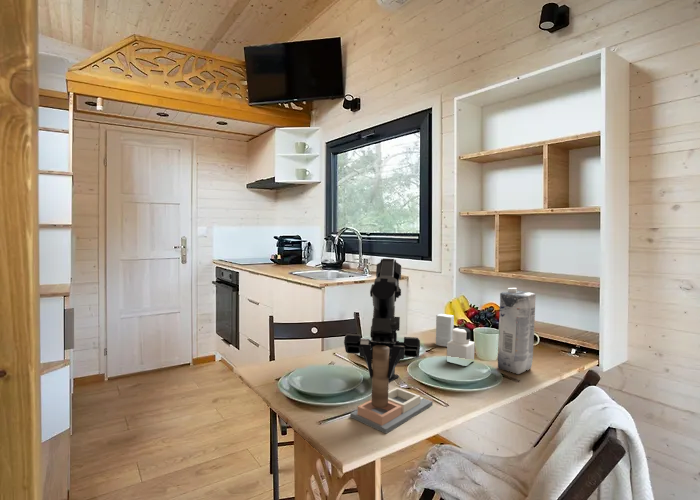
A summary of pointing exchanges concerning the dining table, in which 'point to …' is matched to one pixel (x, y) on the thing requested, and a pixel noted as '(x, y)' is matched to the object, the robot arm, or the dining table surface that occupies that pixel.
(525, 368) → the juice carton
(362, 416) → the board
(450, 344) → the medicine bottle
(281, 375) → the dining table surface
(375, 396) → the walnut pin
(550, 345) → the dining table surface
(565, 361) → the dining table surface
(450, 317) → the skincare box
